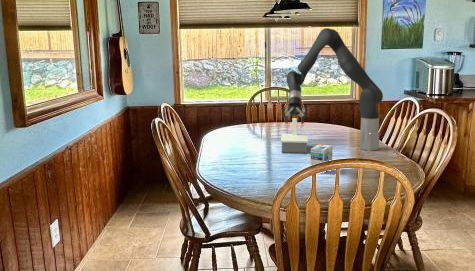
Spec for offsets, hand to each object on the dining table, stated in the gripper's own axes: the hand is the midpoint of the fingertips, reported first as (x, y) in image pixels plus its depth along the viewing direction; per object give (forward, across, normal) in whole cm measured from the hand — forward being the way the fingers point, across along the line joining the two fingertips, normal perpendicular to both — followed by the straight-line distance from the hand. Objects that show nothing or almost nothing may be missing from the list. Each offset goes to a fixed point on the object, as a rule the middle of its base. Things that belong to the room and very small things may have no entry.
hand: (294, 122), depth 242 cm
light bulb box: (+43, +12, -24) cm, 51 cm away
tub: (+16, 0, +3) cm, 16 cm away
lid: (+12, 0, 0) cm, 12 cm away
